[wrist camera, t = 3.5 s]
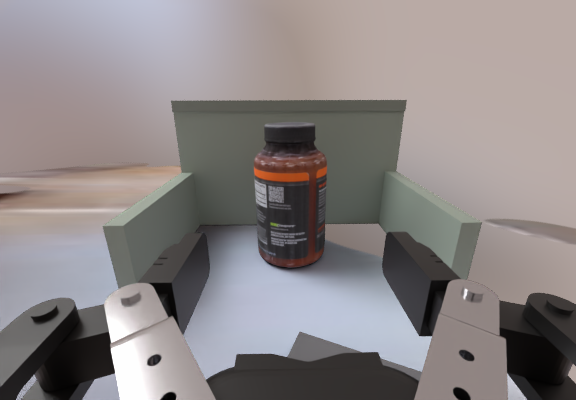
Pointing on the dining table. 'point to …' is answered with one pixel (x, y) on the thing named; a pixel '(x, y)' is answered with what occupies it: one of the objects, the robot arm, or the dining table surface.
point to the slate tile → (332, 352)
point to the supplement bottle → (290, 195)
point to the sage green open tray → (241, 184)
